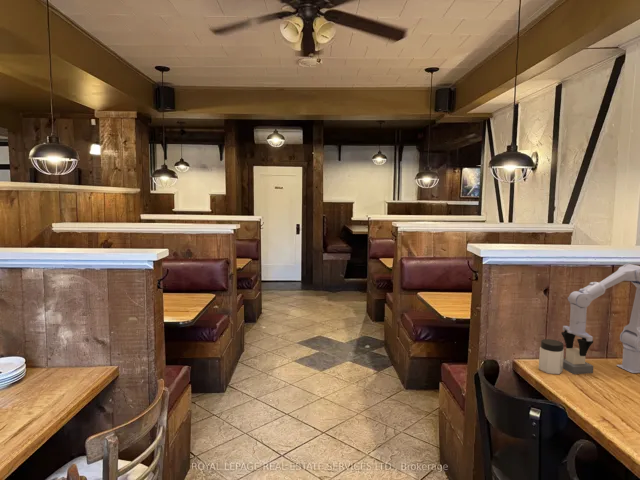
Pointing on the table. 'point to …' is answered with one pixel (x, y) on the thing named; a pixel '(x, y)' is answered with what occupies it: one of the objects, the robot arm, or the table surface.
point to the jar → (551, 356)
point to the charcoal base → (577, 367)
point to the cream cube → (574, 356)
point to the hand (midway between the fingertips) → (575, 352)
